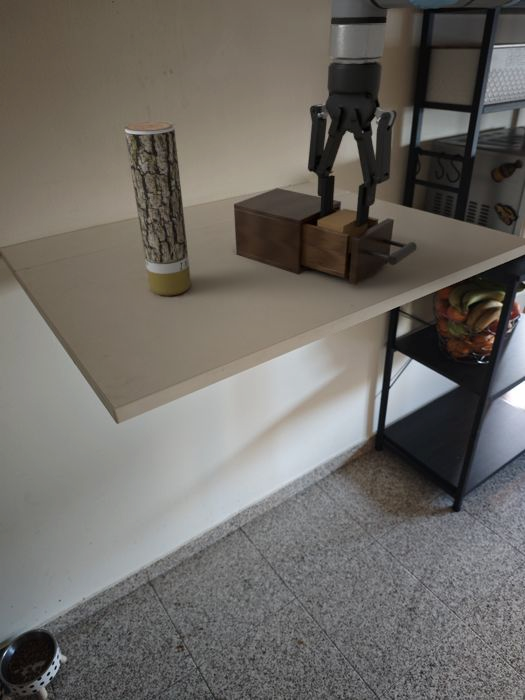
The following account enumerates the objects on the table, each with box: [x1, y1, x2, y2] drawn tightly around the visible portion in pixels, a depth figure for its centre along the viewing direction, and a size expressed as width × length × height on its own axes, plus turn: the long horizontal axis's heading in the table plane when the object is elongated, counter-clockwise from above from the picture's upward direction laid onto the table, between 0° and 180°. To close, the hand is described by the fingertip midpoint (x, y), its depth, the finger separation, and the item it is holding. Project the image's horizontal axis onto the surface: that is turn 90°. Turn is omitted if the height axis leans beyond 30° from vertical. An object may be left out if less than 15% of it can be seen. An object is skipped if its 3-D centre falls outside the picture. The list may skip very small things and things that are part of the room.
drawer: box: [301, 209, 418, 286], centre depth 84 cm, size 19×11×8 cm, turn 51°
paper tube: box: [124, 121, 192, 297], centre depth 76 cm, size 7×7×25 cm
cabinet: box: [233, 187, 342, 275], centre depth 92 cm, size 15×13×10 cm
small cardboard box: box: [317, 208, 368, 254], centre depth 85 cm, size 8×5×6 cm, turn 141°
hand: (343, 220), depth 83 cm, fingers open, 6 cm apart
